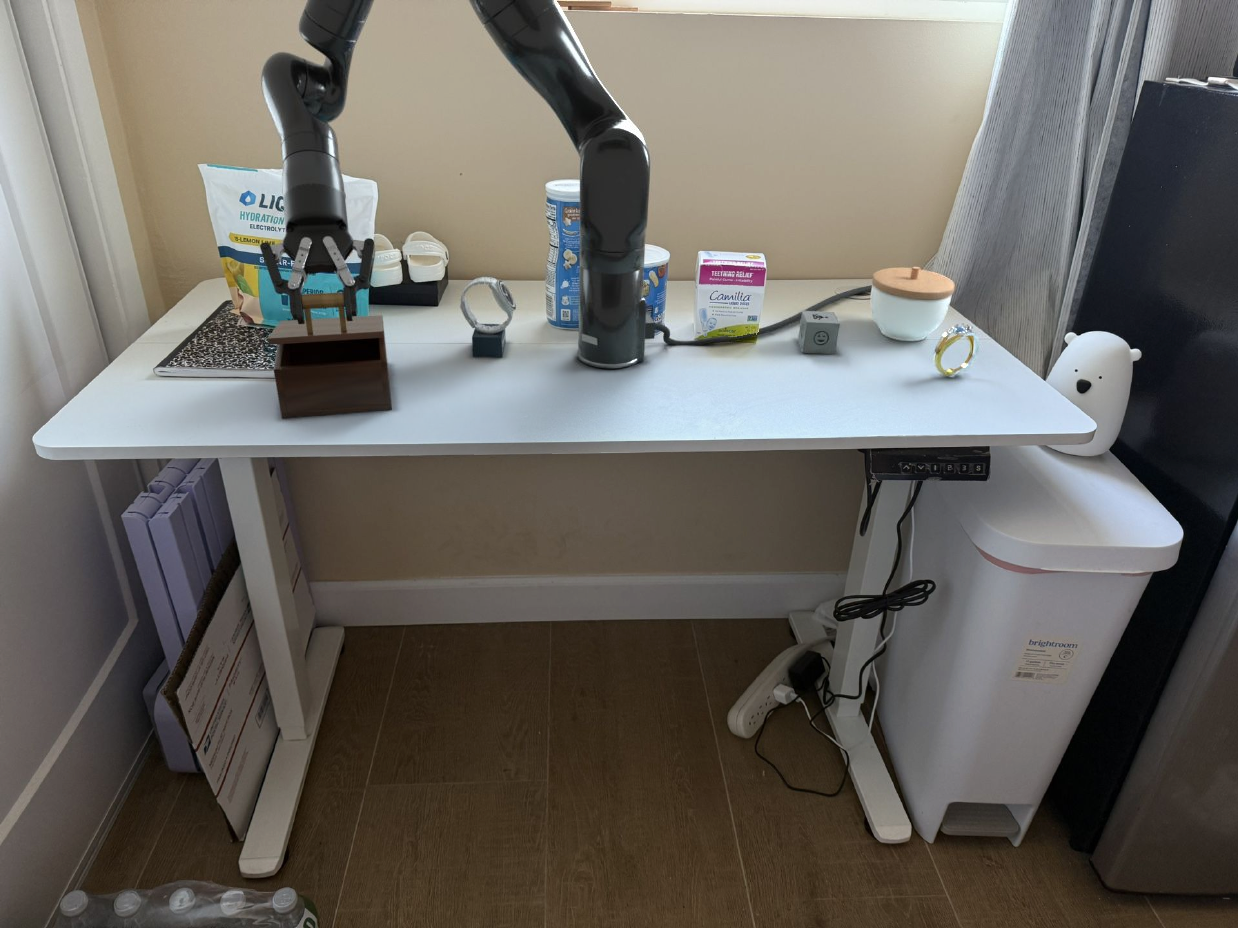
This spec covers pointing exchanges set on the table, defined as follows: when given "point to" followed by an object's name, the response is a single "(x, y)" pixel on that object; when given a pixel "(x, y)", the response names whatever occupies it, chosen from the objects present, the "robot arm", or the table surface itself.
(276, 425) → the table surface
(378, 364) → the case
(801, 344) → the dice cube
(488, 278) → the watch
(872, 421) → the table surface
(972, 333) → the ring
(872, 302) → the lidded bowl
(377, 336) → the lid
